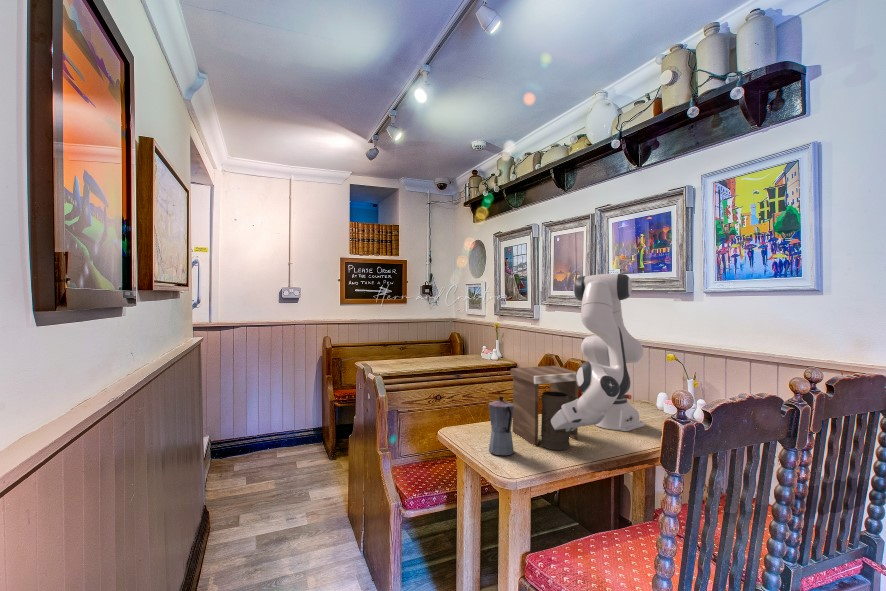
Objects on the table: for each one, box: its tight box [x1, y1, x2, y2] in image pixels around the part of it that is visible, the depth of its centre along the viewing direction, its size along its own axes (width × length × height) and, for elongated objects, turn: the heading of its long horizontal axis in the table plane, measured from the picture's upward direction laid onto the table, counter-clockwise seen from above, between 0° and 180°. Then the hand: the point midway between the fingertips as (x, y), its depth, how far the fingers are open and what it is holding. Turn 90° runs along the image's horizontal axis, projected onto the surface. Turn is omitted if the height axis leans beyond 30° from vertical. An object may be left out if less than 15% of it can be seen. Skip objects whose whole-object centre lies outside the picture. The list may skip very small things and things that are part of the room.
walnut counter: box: [510, 365, 579, 446], centre depth 168 cm, size 22×18×27 cm
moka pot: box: [488, 396, 515, 456], centre depth 150 cm, size 10×15×20 cm, turn 19°
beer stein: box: [540, 391, 576, 451], centre depth 159 cm, size 15×11×20 cm
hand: (568, 429), depth 155 cm, fingers closed
